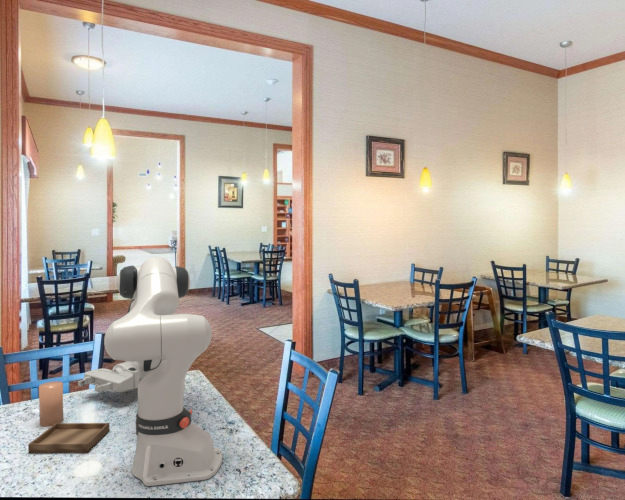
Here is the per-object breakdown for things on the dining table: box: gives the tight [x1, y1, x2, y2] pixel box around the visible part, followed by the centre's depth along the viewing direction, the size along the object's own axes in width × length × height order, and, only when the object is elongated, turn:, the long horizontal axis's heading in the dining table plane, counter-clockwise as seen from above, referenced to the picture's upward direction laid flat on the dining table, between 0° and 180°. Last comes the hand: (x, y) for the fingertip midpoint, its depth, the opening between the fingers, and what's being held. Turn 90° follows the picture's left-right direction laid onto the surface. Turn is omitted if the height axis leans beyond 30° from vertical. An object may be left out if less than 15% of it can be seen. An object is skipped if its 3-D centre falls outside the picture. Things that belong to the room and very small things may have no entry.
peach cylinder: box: [38, 380, 64, 428], centre depth 136 cm, size 6×6×12 cm
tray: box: [27, 422, 110, 454], centre depth 124 cm, size 16×13×2 cm
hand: (87, 386), depth 147 cm, fingers open, 8 cm apart
